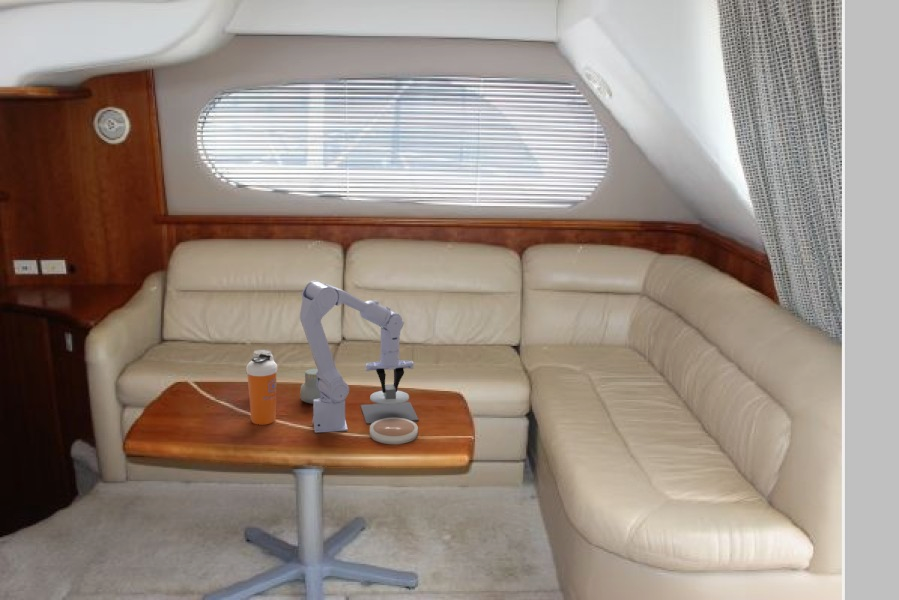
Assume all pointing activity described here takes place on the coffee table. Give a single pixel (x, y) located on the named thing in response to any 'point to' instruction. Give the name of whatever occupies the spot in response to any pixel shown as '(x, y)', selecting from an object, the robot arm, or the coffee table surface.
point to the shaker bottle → (262, 389)
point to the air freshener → (310, 387)
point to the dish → (393, 430)
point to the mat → (388, 412)
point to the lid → (389, 396)
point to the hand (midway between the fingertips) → (389, 391)
